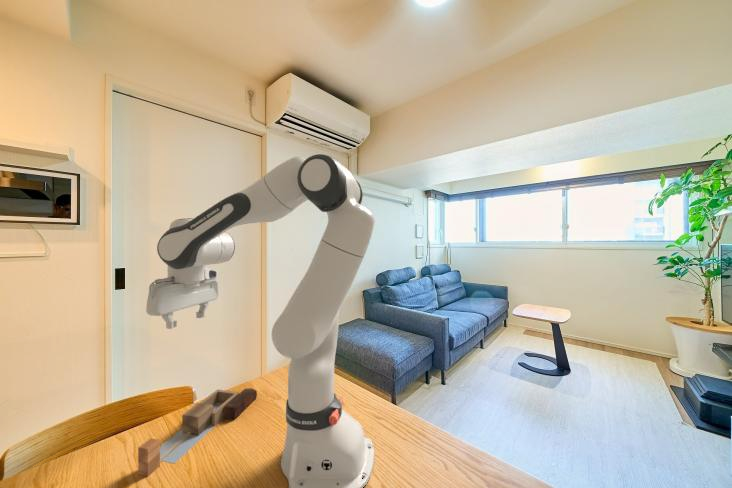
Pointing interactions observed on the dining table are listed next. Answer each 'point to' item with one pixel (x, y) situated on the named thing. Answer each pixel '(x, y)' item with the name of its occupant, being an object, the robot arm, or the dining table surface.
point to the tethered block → (191, 425)
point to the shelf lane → (218, 402)
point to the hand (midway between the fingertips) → (187, 322)
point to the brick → (239, 404)
